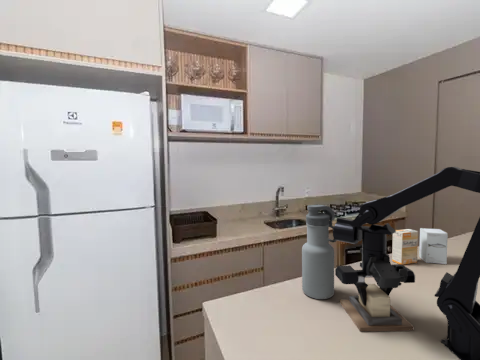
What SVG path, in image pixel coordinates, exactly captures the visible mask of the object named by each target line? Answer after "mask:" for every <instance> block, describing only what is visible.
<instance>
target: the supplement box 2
mask: <svg viewBox="0 0 480 360" xmlns="http://www.w3.org/2000/svg"><path fill="white" fill-rule="evenodd" d="M448 234H449V233H448V232H446V231H445V230H442V229H441V228H424V227H420V228H419V247H418V248H419V251H418V252H419V253H418V257H419V258H420V259H421V260H422V261H423V262H424V263H427V264H441V265H447V263H448V262H447V261H448V238H449V237H448V236H449V235H448Z"/></svg>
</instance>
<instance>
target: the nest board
mask: <svg viewBox="0 0 480 360" xmlns="http://www.w3.org/2000/svg"><path fill="white" fill-rule="evenodd" d="M348 297H349V298H348V299H339V304H340V305H341V306H342V308H343V309H344V311H345V312H346V313H347V315H348V316H349V318H350V320H351V321H352V322H353V323H354V325H355V326H356V328H357V330H358V331H359V332H395V331H398V332H399V331H400V332H401V331H405V332H406V331H414V325H412V324H411V322H409V321H408V320H407V319H406V318H405V317H404V316H403V315H402V314H401V313H400V312H399V311H398V310H397V309H396V308H395V307H394V306H393V305H391V304H390V316H388V317H372V316H371V315H370V314H369V313H368V311H367V310H366V309H365V308H364V307H363V306H362V304H361V303H360V302H359V295H348Z"/></svg>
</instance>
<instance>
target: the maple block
mask: <svg viewBox="0 0 480 360" xmlns="http://www.w3.org/2000/svg"><path fill="white" fill-rule="evenodd" d="M366 284H367V285H368V286H367V288H366V299H367V302H366V306H364V305H363V303H362V300H361V298H360V295H359V294H358V296H359V302H360V303H361V304H362V306H363V307H364V308H365V309H366V310H367V311H368V313H369V314H370V315H371V316H372V317H388V316H390V305H391V297H390V295H389V296H388V295H387V294H386V293H385V292H383V291H382V290H381V289H380V287H379V286H378V285H377V283H366Z"/></svg>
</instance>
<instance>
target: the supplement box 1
mask: <svg viewBox="0 0 480 360" xmlns="http://www.w3.org/2000/svg"><path fill="white" fill-rule="evenodd" d="M395 230H396V232H395V233H393V234H392V247H391V249H392V251H391V252H392V254H391V255H392V257H391V261H392V262H393V263H395V264H402V265H404V266H405V265H409V264H417V263H418V248H419V247H418V244H419V243H418V242H419V230H415V229H411V228H406V229H405V228H404V229H395Z"/></svg>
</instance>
